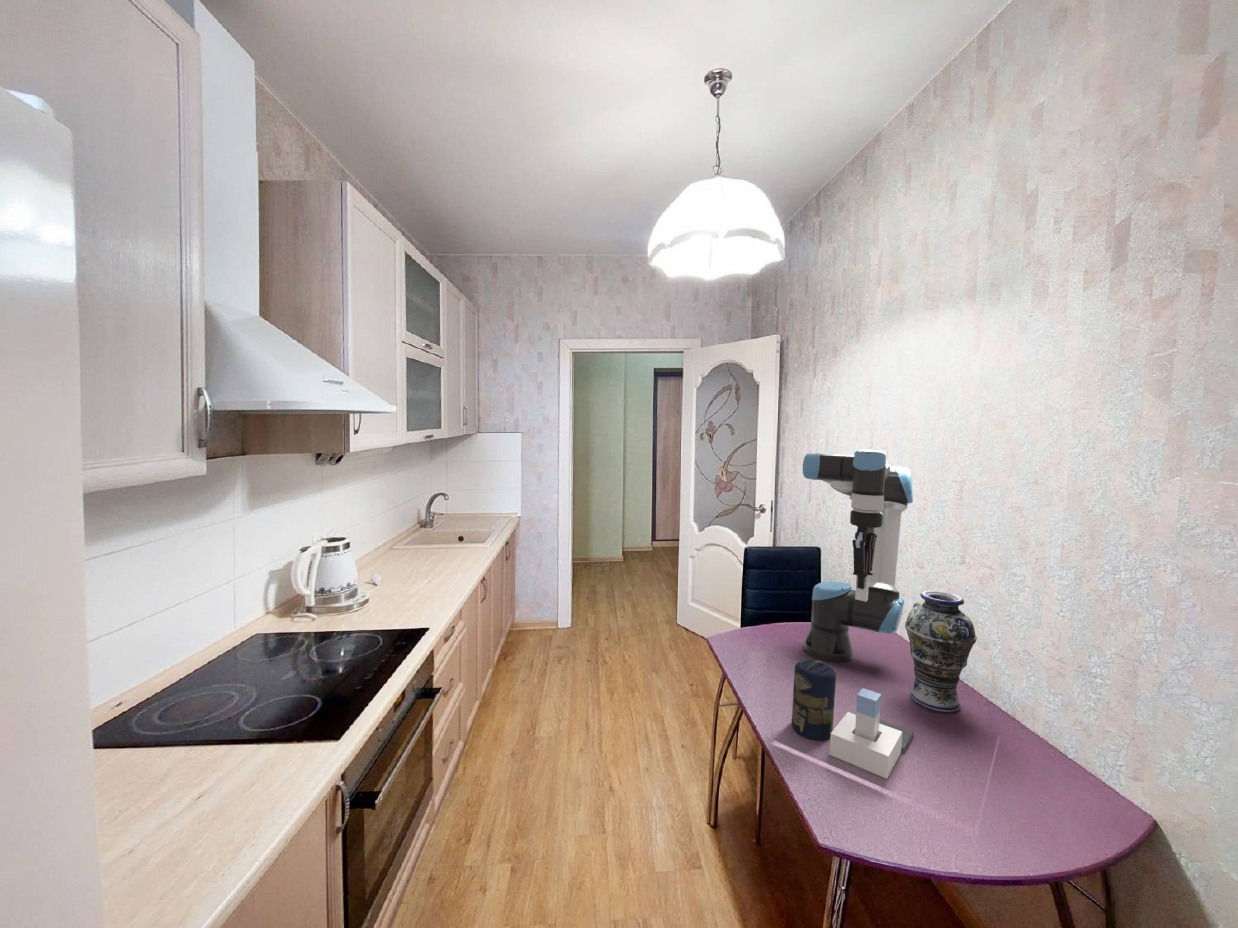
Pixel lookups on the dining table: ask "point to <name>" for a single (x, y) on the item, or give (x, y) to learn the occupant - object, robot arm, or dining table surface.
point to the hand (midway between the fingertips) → (861, 599)
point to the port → (866, 747)
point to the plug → (868, 714)
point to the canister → (813, 699)
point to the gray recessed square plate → (906, 734)
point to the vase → (938, 649)
